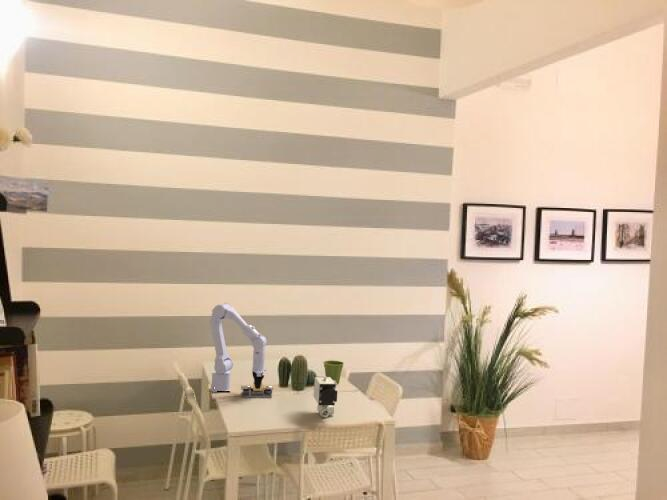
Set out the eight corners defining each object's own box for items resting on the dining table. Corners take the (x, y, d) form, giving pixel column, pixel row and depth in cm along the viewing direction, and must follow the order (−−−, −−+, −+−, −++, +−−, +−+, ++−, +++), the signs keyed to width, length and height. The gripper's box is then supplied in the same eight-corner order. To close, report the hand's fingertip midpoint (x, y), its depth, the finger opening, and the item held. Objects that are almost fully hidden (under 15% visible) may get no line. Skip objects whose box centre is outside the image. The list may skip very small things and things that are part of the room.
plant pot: (343, 380, 341) (345, 361, 341) (342, 386, 329) (343, 365, 329) (323, 379, 342) (324, 359, 342) (320, 384, 330) (321, 364, 330)
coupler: (253, 394, 301) (253, 383, 301) (252, 391, 305) (253, 380, 304) (262, 394, 302) (262, 383, 301) (261, 391, 305) (262, 381, 305)
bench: (241, 397, 297) (241, 388, 297) (240, 392, 307) (240, 383, 306) (273, 397, 300) (274, 388, 300) (272, 392, 310) (272, 383, 309)
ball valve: (337, 421, 269) (339, 381, 268) (318, 421, 267) (321, 381, 267) (329, 409, 287) (331, 371, 286) (312, 409, 285) (314, 371, 284)
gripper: (267, 363, 296) (266, 391, 297) (265, 357, 310) (264, 383, 311) (253, 363, 295) (251, 391, 295) (251, 357, 309) (250, 383, 310)
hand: (257, 387), depth 303 cm, fingers open, 5 cm apart
